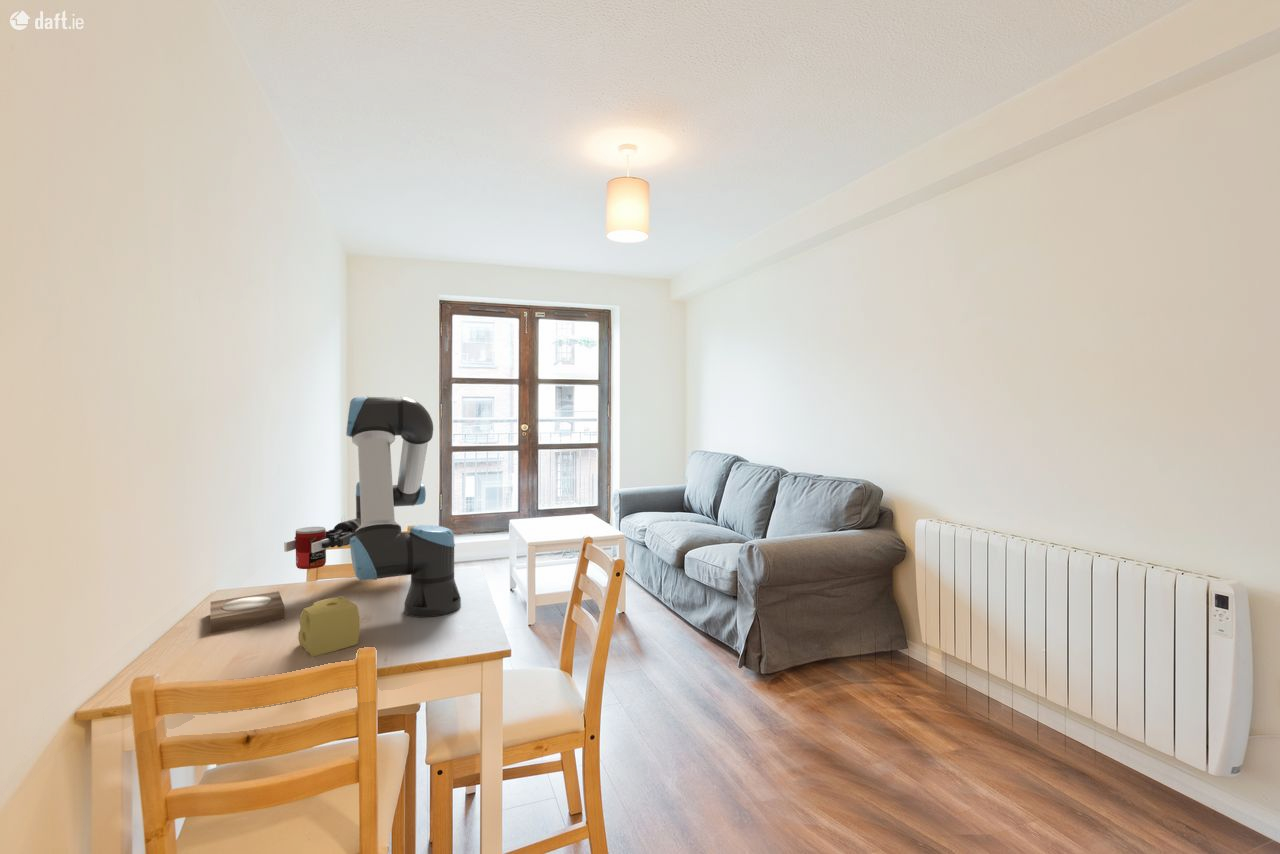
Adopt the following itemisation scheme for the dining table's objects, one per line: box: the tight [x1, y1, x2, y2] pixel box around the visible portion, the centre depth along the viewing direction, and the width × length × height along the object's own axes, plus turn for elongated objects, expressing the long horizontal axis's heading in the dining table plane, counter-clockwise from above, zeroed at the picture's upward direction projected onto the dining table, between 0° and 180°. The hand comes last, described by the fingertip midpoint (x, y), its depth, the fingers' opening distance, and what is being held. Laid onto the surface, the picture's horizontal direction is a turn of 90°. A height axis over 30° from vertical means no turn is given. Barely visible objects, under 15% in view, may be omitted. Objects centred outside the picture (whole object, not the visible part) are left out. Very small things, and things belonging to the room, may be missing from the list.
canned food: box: [295, 526, 327, 570], centre depth 172 cm, size 8×8×11 cm
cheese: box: [297, 595, 361, 658], centre depth 139 cm, size 10×11×10 cm
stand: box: [209, 591, 286, 633], centre depth 158 cm, size 16×16×4 cm
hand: (299, 547), depth 167 cm, fingers closed on canned food, 8 cm apart
